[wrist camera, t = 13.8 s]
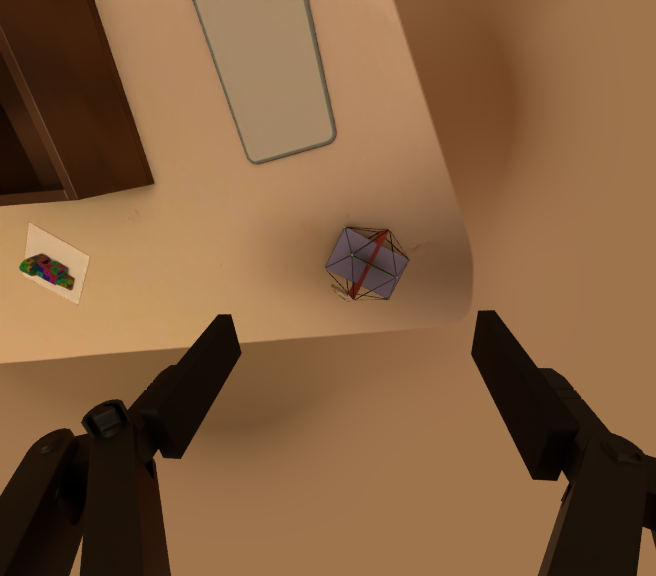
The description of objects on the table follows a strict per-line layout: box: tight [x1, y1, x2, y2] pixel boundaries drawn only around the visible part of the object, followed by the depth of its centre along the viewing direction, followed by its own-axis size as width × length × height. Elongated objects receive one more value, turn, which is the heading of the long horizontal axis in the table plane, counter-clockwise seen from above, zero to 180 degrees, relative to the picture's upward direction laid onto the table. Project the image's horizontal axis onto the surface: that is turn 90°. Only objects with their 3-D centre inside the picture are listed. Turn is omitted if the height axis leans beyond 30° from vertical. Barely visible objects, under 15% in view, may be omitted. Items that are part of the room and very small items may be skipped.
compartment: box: [0, 0, 154, 206], centre depth 23 cm, size 16×13×9 cm
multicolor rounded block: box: [19, 252, 76, 292], centre depth 34 cm, size 4×3×2 cm, turn 57°
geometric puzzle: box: [324, 226, 410, 302], centre depth 27 cm, size 7×7×8 cm
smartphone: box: [193, 0, 336, 164], centre depth 23 cm, size 8×1×15 cm
